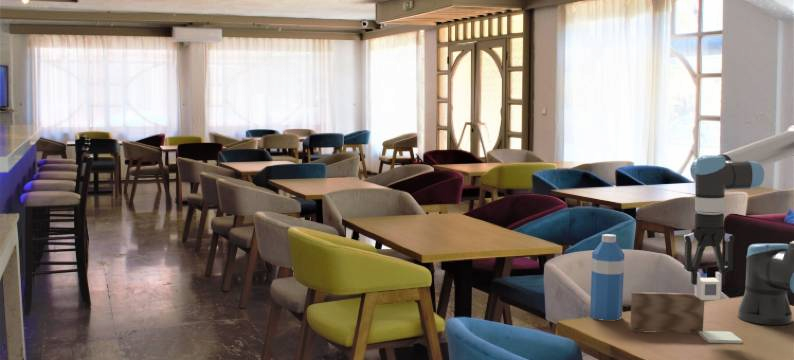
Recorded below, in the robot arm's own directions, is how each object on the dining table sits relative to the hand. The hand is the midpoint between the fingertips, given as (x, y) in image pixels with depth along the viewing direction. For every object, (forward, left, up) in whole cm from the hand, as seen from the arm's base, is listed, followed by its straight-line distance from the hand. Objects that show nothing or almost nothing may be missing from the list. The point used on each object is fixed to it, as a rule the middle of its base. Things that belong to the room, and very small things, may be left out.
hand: (707, 295), depth 241 cm
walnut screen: (+9, -6, -12) cm, 16 cm away
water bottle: (+23, -21, -12) cm, 34 cm away
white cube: (0, 0, 0) cm, 0 cm away
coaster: (-4, 0, -12) cm, 13 cm away
